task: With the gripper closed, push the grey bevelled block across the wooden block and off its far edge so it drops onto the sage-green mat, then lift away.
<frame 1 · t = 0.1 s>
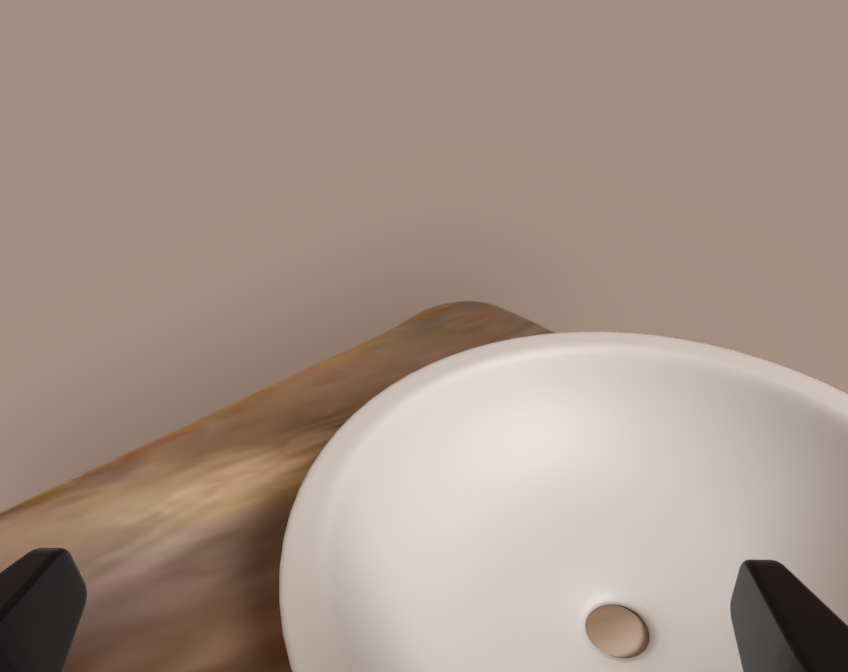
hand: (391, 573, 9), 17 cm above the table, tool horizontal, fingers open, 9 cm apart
soup bowl: (616, 636, 26), on the table
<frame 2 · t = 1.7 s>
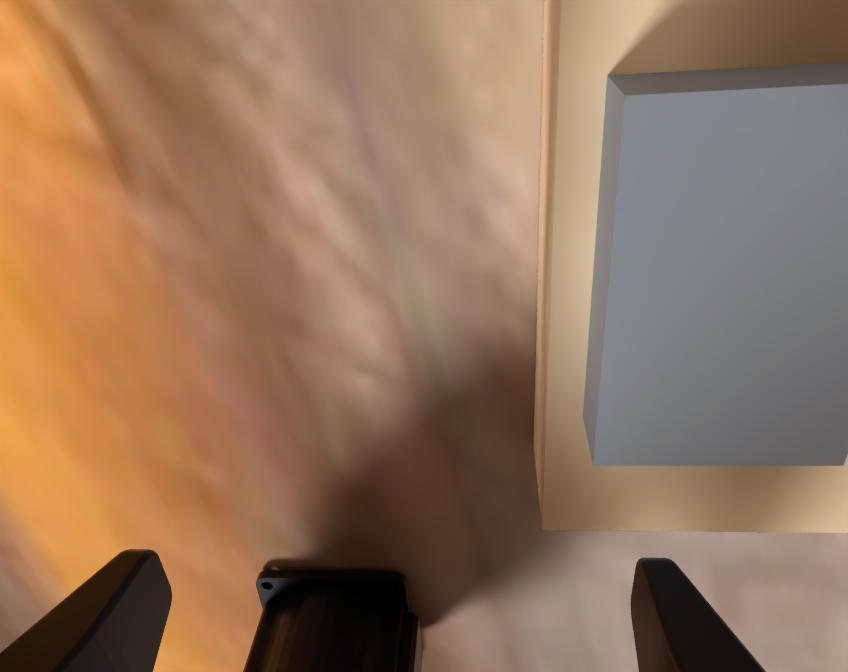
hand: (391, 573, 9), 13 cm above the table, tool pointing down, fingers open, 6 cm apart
wooden block: (732, 205, 19), on the table
grey bevelled block: (720, 266, 16), point 4 cm above the table, touching wooden block
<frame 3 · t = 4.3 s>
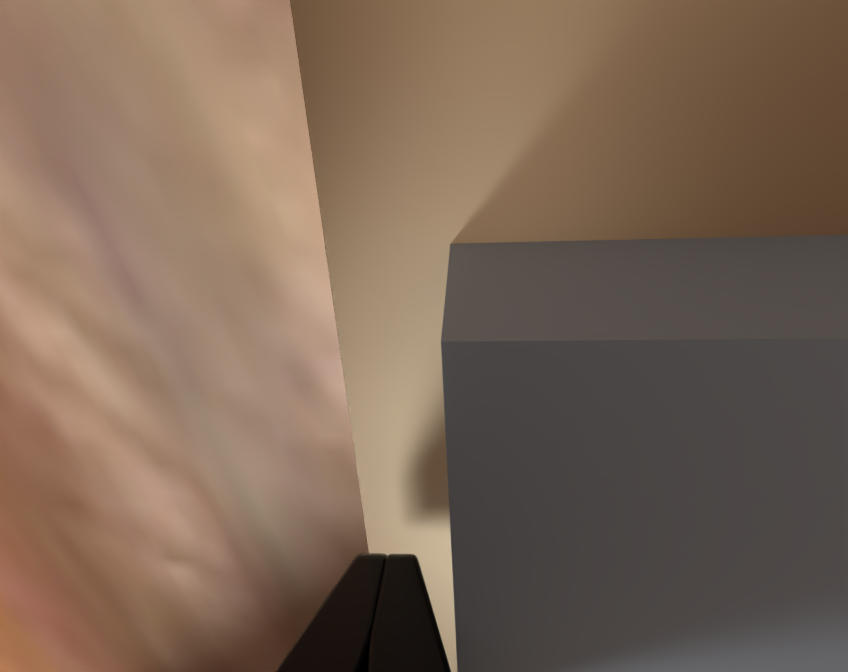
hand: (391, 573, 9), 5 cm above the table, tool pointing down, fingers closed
wooden block: (686, 373, 13), on the table
grey bevelled block: (677, 538, 9), point 4 cm above the table, touching wooden block, gripper
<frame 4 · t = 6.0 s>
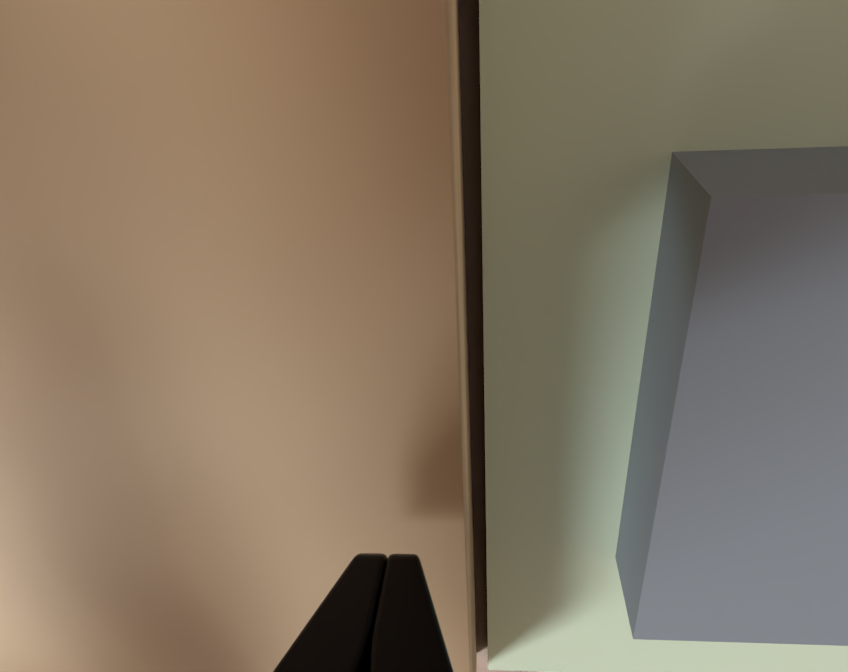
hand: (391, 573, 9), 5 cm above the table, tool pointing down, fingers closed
wooden block: (196, 376, 13), on the table
mat: (801, 394, 13), on the table
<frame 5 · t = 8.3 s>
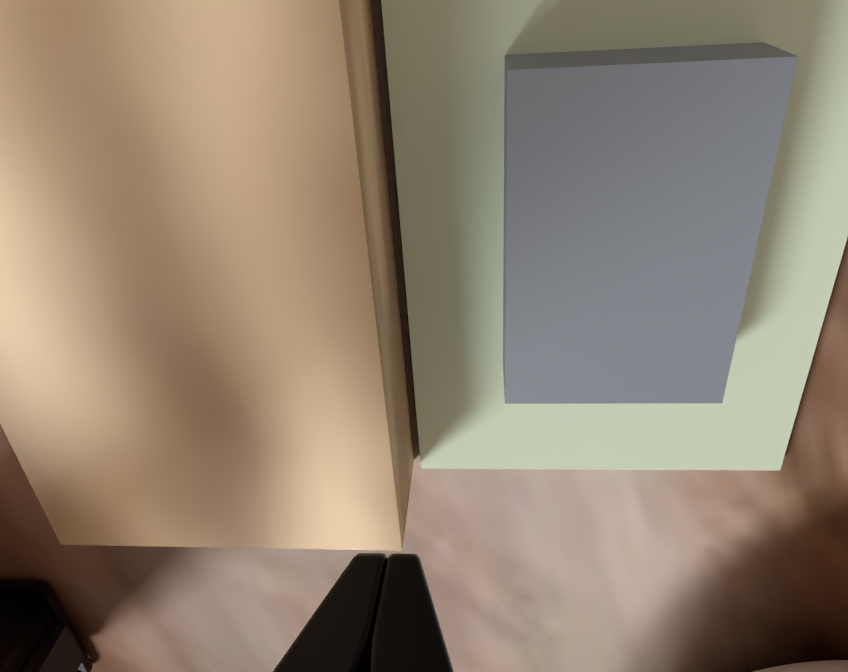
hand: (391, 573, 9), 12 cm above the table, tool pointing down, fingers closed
wooden block: (205, 228, 19), on the table
grey bevelled block: (628, 257, 16), point 2 cm above the table, tilted 180°, touching mat
mat: (616, 232, 19), on the table
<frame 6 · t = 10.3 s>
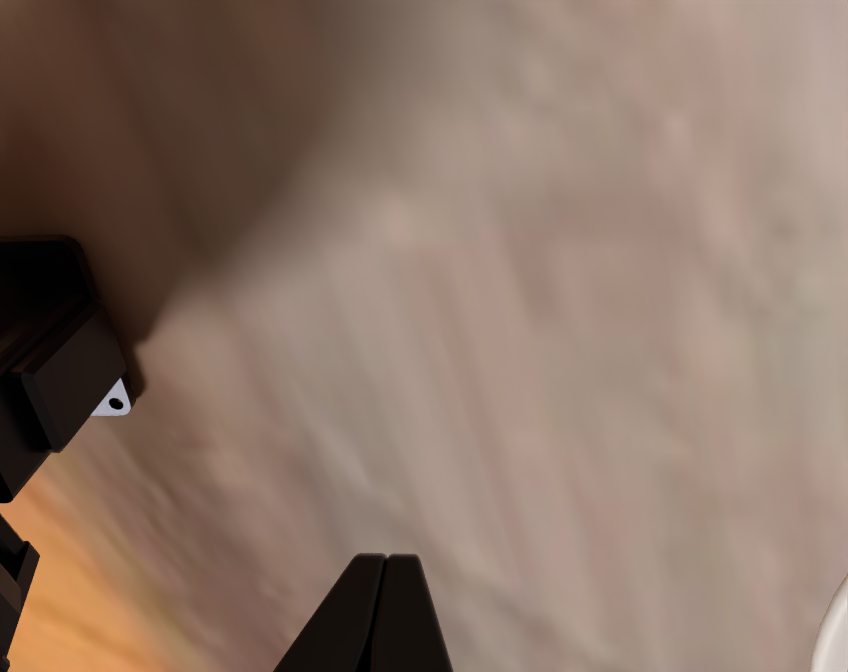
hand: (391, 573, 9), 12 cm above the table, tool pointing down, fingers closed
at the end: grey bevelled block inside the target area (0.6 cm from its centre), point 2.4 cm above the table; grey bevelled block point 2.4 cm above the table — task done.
